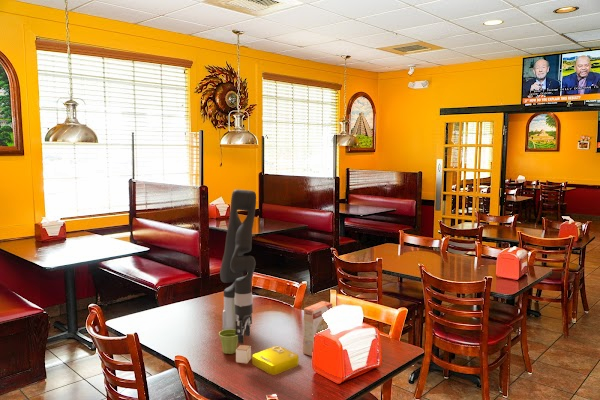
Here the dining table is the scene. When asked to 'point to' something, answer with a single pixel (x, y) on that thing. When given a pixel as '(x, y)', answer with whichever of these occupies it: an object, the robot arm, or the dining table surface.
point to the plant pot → (229, 340)
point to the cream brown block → (243, 354)
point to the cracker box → (313, 324)
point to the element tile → (275, 360)
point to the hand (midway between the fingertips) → (244, 339)
